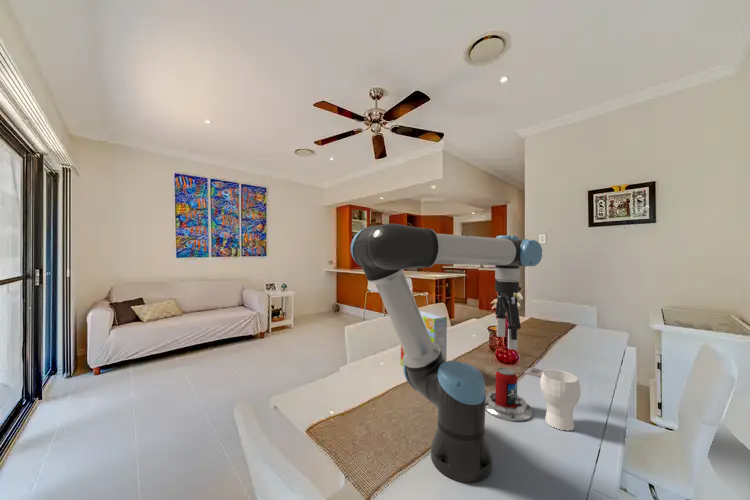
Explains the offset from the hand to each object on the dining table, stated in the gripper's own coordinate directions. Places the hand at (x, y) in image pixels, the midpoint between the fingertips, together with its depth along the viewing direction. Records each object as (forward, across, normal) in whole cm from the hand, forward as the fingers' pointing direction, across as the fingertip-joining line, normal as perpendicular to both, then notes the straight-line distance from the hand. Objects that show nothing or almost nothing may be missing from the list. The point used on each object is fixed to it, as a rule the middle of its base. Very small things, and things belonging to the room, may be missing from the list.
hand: (506, 342), depth 100 cm
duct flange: (+22, 0, 0) cm, 23 cm away
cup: (+23, -7, -14) cm, 28 cm away
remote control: (+23, +30, -23) cm, 45 cm away
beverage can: (+22, 0, 0) cm, 22 cm away
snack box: (+23, +27, +28) cm, 45 cm away
